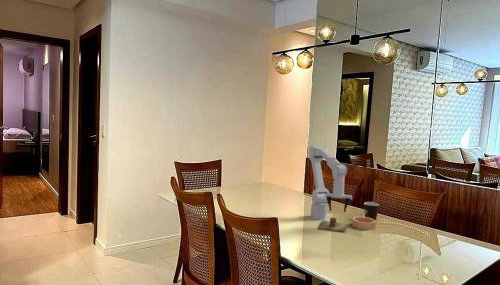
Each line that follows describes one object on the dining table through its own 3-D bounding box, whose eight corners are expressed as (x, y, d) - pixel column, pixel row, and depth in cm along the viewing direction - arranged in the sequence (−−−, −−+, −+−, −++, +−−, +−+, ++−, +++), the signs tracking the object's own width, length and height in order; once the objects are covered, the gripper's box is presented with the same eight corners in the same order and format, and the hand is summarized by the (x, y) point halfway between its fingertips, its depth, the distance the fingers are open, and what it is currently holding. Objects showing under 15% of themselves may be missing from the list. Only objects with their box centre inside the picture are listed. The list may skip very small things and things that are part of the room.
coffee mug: (379, 222, 209) (380, 206, 209) (363, 221, 211) (364, 205, 210) (376, 217, 221) (377, 201, 220) (361, 216, 222) (362, 200, 222)
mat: (316, 230, 192) (316, 229, 192) (321, 222, 207) (321, 221, 206) (345, 234, 187) (345, 233, 187) (347, 226, 201) (347, 225, 201)
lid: (319, 229, 193) (319, 219, 193) (322, 222, 205) (323, 213, 205) (343, 232, 189) (344, 223, 188) (345, 225, 201) (346, 216, 200)
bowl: (351, 228, 197) (352, 221, 197) (353, 222, 209) (353, 215, 208) (375, 231, 193) (375, 224, 193) (375, 225, 205) (375, 218, 204)
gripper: (325, 187, 194) (323, 211, 195) (352, 189, 190) (351, 214, 191) (325, 184, 201) (324, 208, 202) (352, 186, 197) (350, 210, 198)
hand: (337, 211), depth 197 cm, fingers open, 7 cm apart
